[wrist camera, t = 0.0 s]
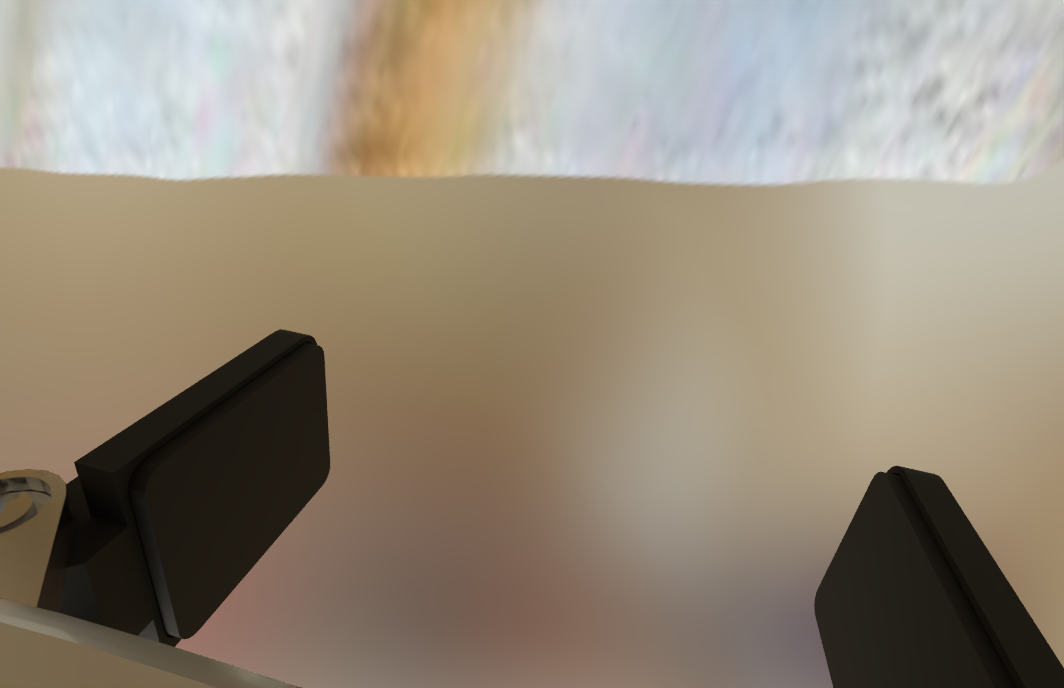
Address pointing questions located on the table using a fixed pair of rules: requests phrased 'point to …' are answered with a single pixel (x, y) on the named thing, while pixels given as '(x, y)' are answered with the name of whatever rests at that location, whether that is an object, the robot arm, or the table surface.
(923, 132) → the table surface
